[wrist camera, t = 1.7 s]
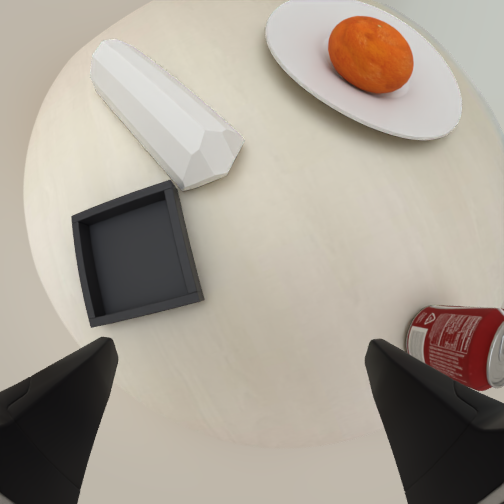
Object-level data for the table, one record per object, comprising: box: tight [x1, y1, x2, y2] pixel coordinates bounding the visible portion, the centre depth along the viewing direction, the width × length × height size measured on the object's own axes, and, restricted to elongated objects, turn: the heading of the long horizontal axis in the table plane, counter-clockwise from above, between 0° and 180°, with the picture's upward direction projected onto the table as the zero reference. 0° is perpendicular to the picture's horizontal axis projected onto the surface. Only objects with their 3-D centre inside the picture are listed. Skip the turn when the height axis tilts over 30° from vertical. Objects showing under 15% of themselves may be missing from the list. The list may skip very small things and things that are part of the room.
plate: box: [265, 0, 462, 140], centre depth 24 cm, size 28×28×9 cm
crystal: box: [90, 39, 245, 191], centre depth 24 cm, size 7×7×24 cm
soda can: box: [406, 305, 504, 391], centre depth 18 cm, size 7×7×12 cm
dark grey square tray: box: [72, 180, 204, 328], centre depth 23 cm, size 11×11×3 cm
